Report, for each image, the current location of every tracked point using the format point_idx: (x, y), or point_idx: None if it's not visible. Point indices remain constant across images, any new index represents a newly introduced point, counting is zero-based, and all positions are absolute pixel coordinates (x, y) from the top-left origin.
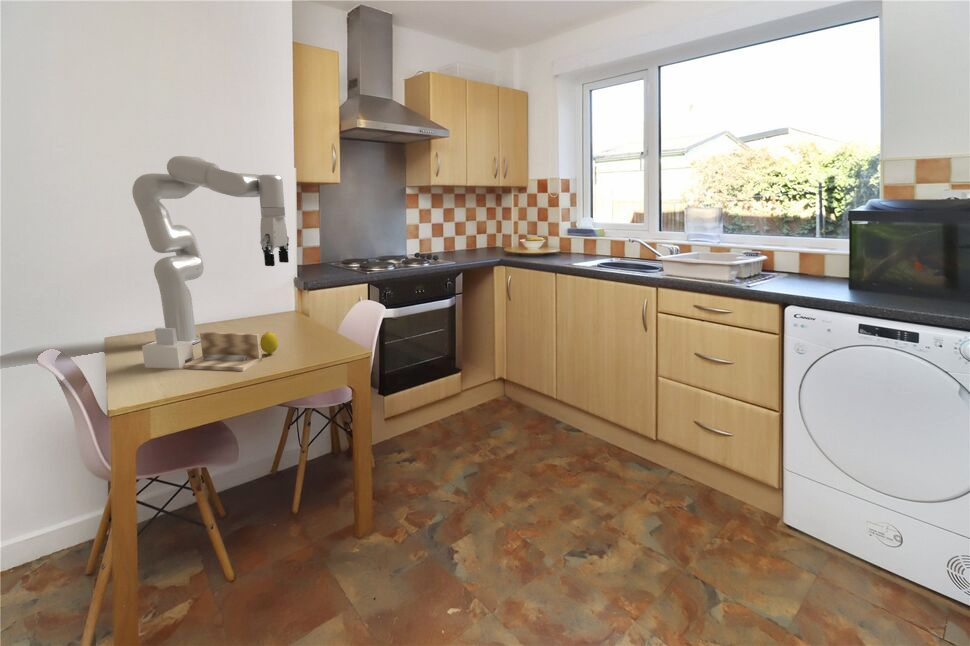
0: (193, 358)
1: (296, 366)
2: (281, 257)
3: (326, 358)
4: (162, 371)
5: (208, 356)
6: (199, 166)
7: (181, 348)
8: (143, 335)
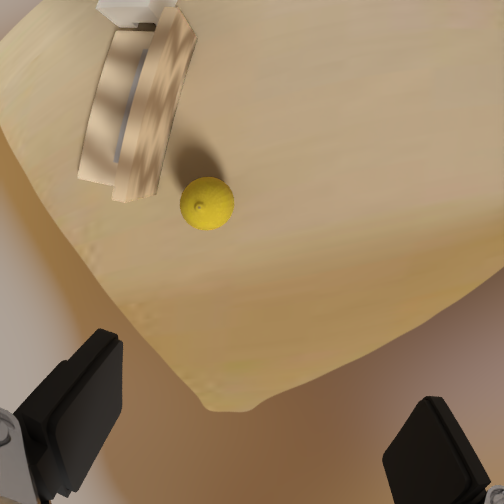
0: None
1: (111, 290)
2: (423, 453)
3: (170, 346)
4: None
5: (139, 63)
6: None
7: (112, 10)
8: None
